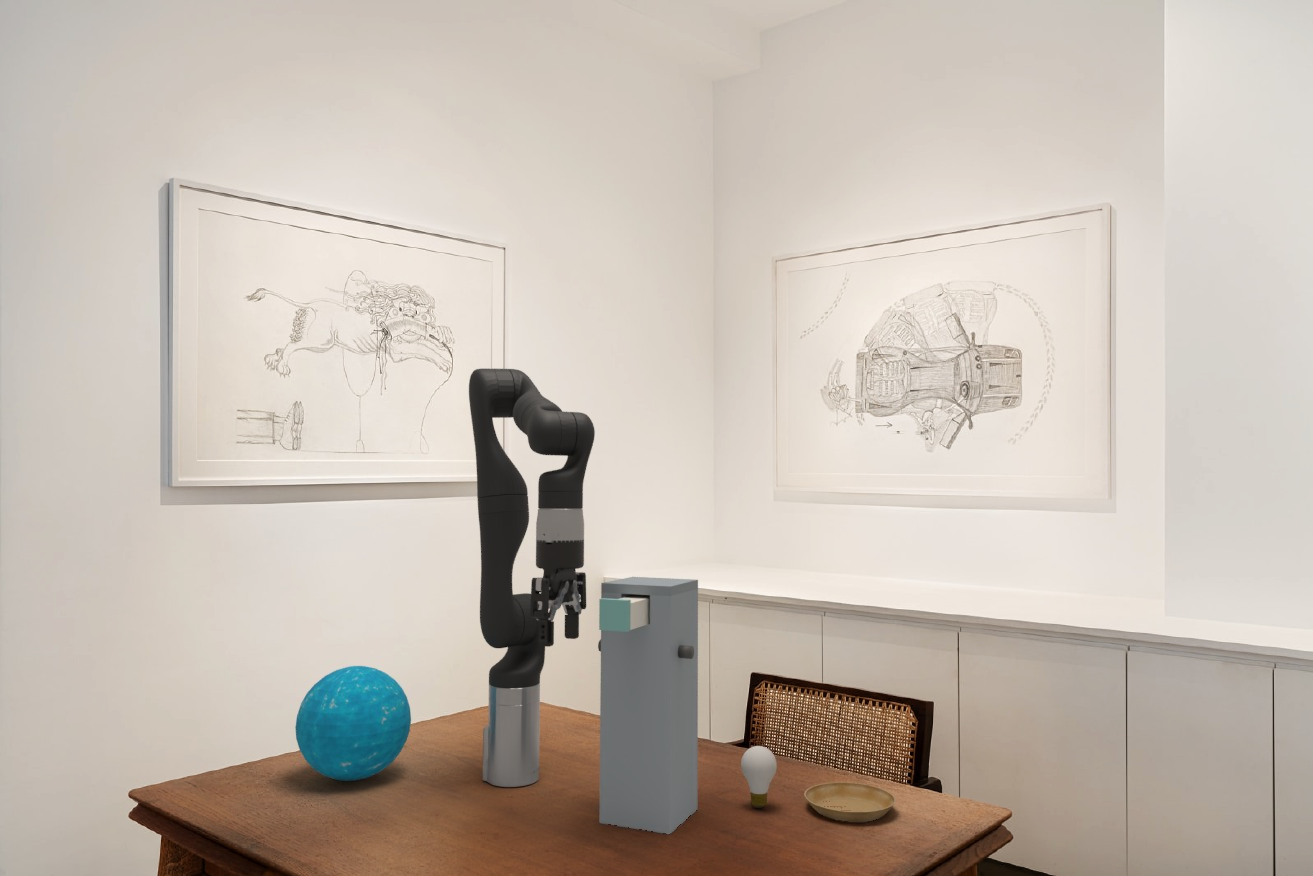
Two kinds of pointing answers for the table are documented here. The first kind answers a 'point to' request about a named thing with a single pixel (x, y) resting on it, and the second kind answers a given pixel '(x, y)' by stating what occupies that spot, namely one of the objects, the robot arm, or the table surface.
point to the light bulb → (758, 772)
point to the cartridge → (624, 613)
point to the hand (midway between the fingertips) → (559, 642)
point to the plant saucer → (850, 801)
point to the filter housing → (650, 709)
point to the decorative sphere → (353, 723)
